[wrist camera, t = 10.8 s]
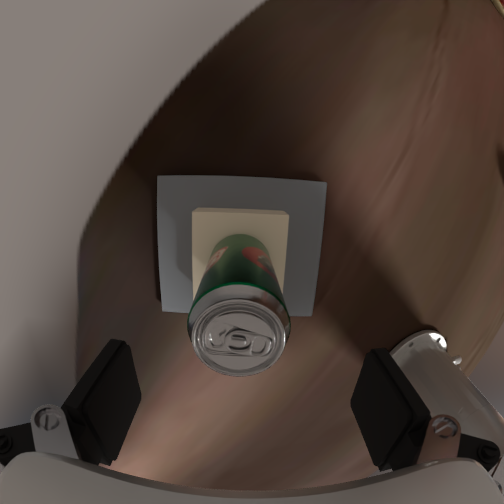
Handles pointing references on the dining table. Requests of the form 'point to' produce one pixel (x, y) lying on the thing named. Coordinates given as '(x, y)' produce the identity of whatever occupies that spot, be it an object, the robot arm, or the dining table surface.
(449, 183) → the dining table surface
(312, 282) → the build base
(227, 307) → the soda can
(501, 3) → the cake
